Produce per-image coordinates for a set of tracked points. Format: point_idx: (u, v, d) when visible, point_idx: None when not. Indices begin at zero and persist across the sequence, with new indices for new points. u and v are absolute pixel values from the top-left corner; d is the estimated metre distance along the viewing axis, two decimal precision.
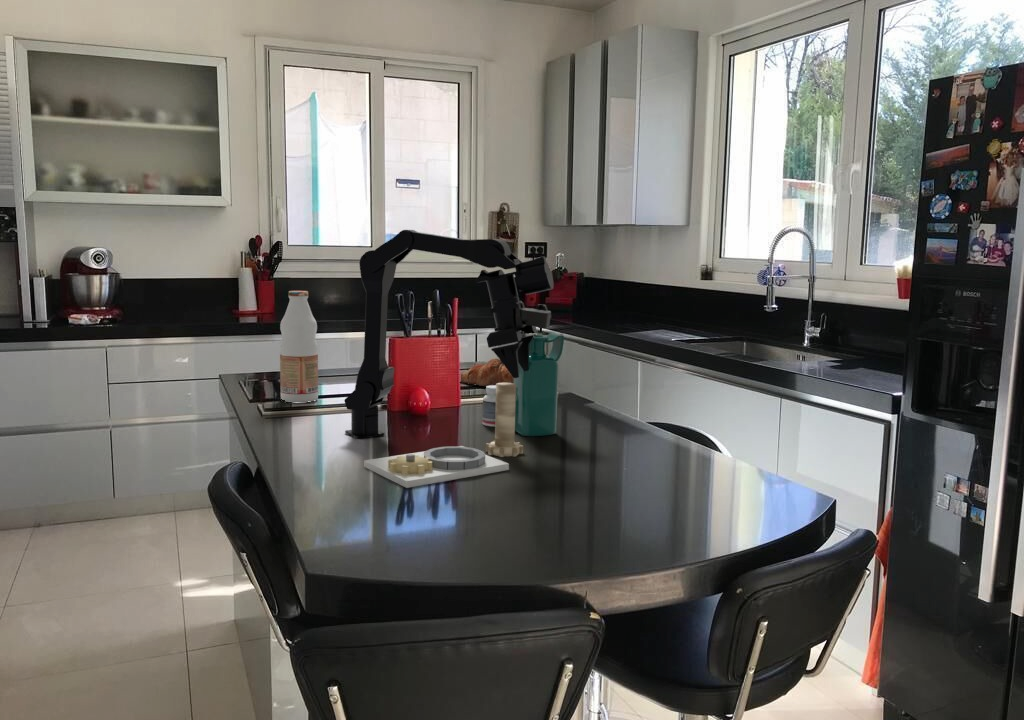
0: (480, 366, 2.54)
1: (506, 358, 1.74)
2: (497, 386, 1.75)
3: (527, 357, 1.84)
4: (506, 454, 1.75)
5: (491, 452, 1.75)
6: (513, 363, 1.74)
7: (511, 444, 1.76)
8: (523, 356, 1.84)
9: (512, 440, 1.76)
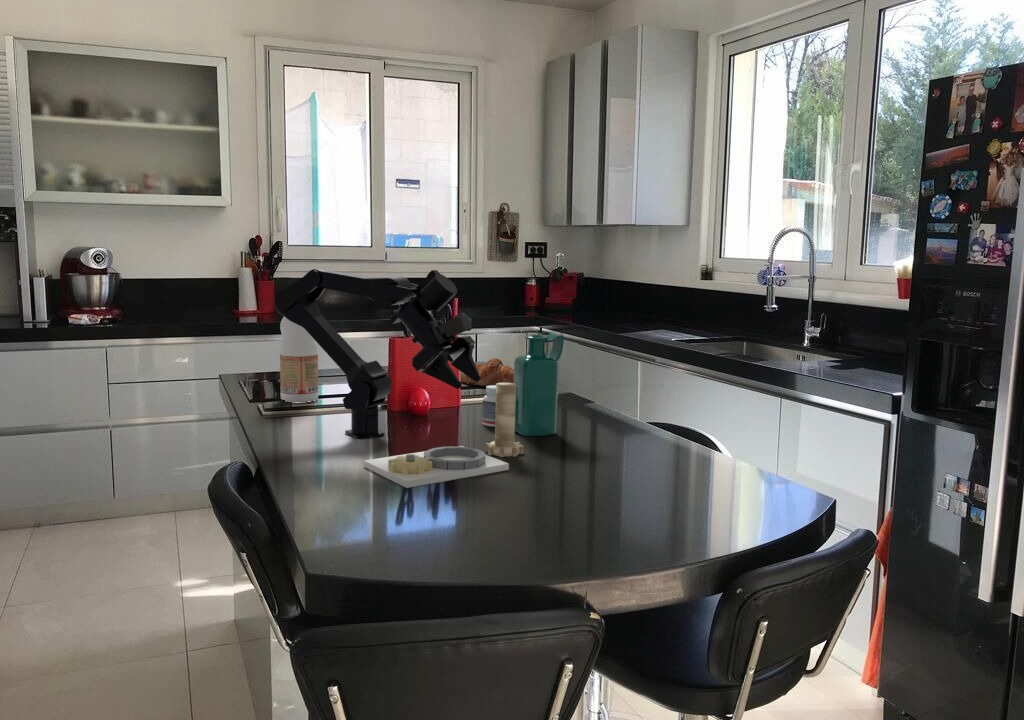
0: (480, 366, 2.54)
1: (441, 374, 1.74)
2: (497, 386, 1.75)
3: (473, 368, 1.83)
4: (506, 454, 1.75)
5: (491, 452, 1.75)
6: (449, 375, 1.74)
7: (511, 444, 1.76)
8: (470, 369, 1.84)
9: (512, 440, 1.76)
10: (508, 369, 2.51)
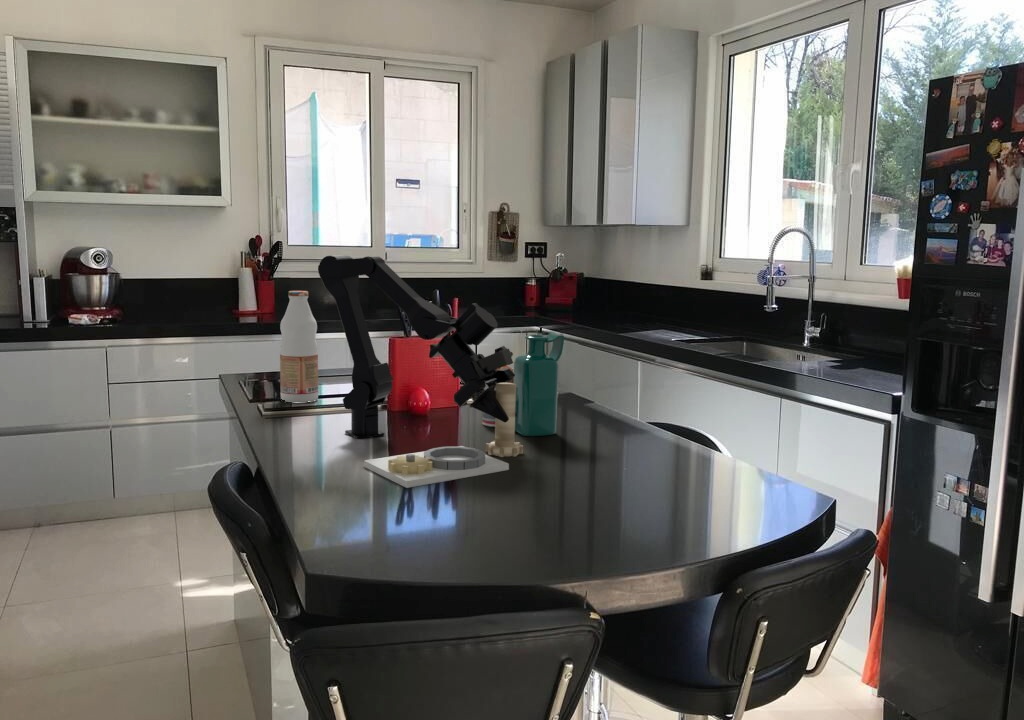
0: None
1: (488, 408, 1.74)
2: (497, 386, 1.75)
3: None
4: (506, 454, 1.75)
5: (491, 452, 1.75)
6: (496, 409, 1.74)
7: (511, 444, 1.76)
8: None
9: (512, 440, 1.76)
10: None
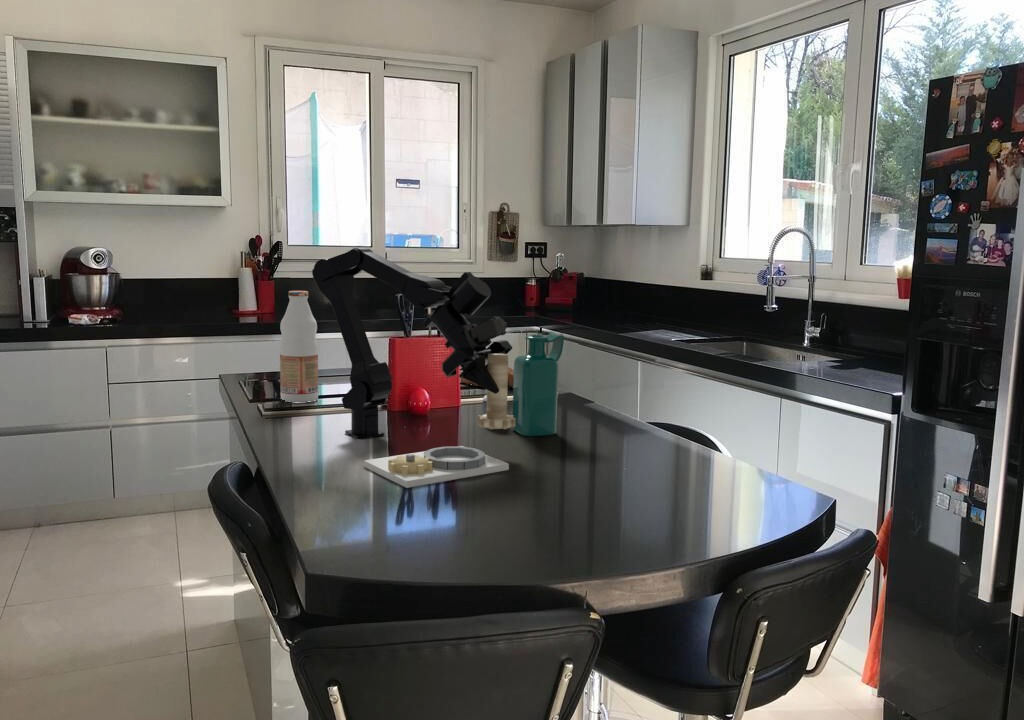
0: None
1: (478, 378, 1.70)
2: (488, 356, 1.71)
3: None
4: (496, 426, 1.70)
5: (481, 424, 1.71)
6: (486, 380, 1.69)
7: (502, 416, 1.72)
8: None
9: (503, 412, 1.72)
10: None
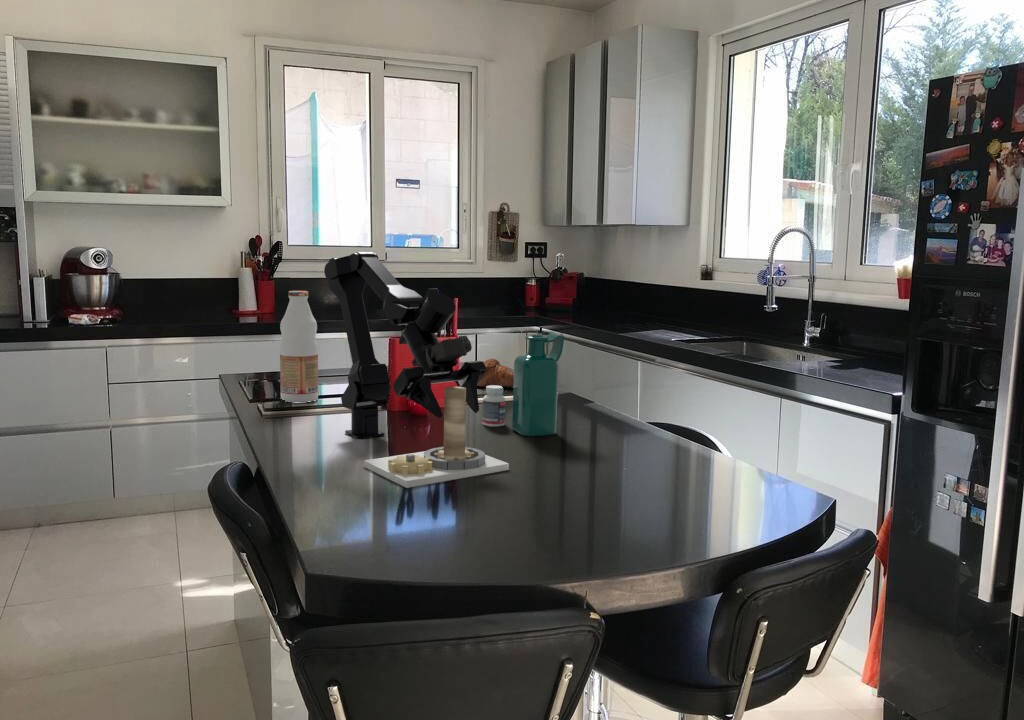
0: None
1: (424, 401, 1.62)
2: (444, 389, 1.63)
3: (473, 397, 1.66)
4: None
5: None
6: (430, 403, 1.60)
7: (456, 453, 1.63)
8: (471, 397, 1.67)
9: (458, 449, 1.63)
10: (505, 369, 2.50)
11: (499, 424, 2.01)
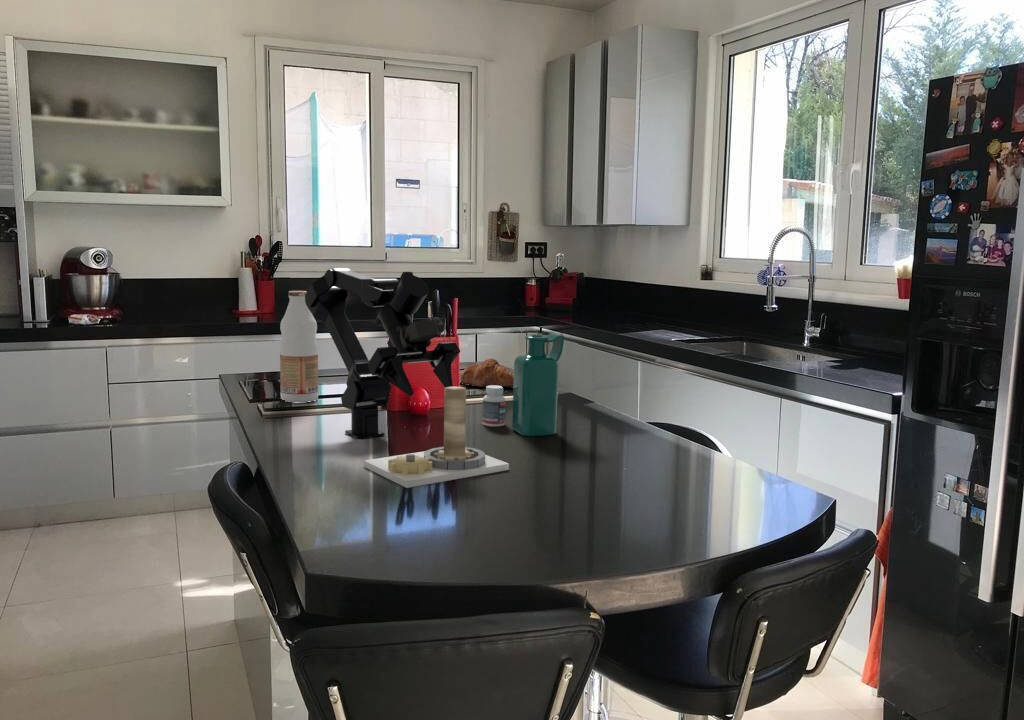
0: (475, 366, 2.53)
1: (396, 380, 1.68)
2: (444, 389, 1.63)
3: (447, 376, 1.73)
4: None
5: None
6: (401, 381, 1.66)
7: (456, 453, 1.63)
8: (445, 377, 1.73)
9: (458, 449, 1.63)
10: (504, 369, 2.50)
11: (499, 424, 2.01)
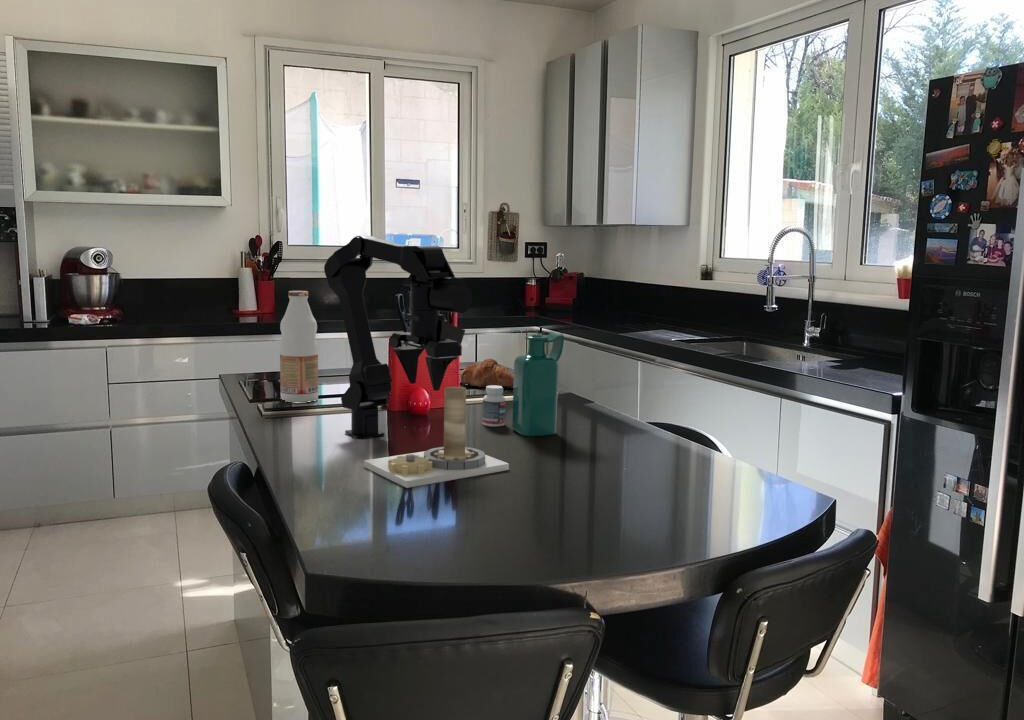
0: (474, 366, 2.53)
1: (436, 370, 1.70)
2: (444, 389, 1.63)
3: (416, 370, 1.80)
4: None
5: None
6: (440, 376, 1.71)
7: (456, 453, 1.63)
8: (412, 368, 1.79)
9: (458, 449, 1.63)
10: (503, 369, 2.50)
11: (499, 424, 2.01)
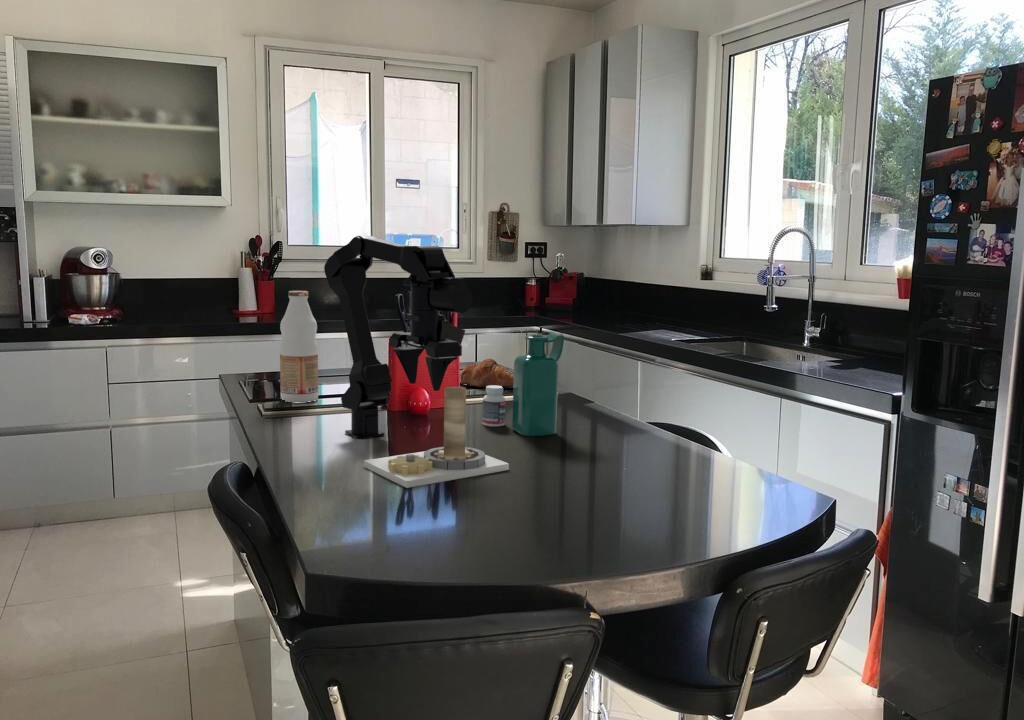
0: (474, 366, 2.53)
1: (436, 370, 1.70)
2: (444, 389, 1.63)
3: (416, 370, 1.80)
4: None
5: None
6: (440, 376, 1.71)
7: (456, 453, 1.63)
8: (412, 368, 1.79)
9: (458, 449, 1.63)
10: (502, 369, 2.50)
11: (499, 424, 2.01)
